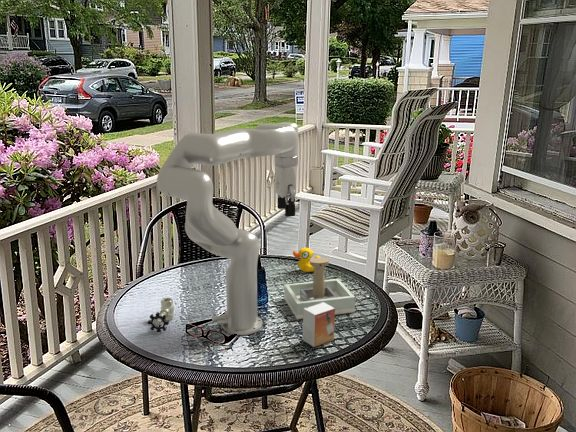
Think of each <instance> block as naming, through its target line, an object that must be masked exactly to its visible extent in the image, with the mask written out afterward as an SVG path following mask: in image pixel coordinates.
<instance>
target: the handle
mask: <svg viewBox="0 0 576 432" xmlns="http://www.w3.org/2000/svg"><path fill="white" fill-rule="evenodd" d="M309 261H310V265H311V266H313V267H314V271H313V280H312V282H313V296H314V299H317V298H323V297H324V291H325V281H324V280H325V267H327V266H328V265H329V263H330V259H328V258H326V257H320V258H315V257H314V258H311V259H310V260H309Z"/></svg>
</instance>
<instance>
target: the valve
mask: <svg viewBox="0 0 576 432" xmlns="http://www.w3.org/2000/svg"><path fill="white" fill-rule="evenodd" d="M160 306H161V307H160V311H158V312H156V313H155V316H154V314H153V313H152V314H150V315H149V319H150V320H148V321H146V323H147V325H151V326H150V331H154V330H156V333H157V332H160V333H161V331H164V332H166V331H167V330H168V327H167V326H169V324H170V321H171V320H174V317H175V316H174V314H175V313H174V311H175V307H174V299H173V298H171V297H164V298H162V299H161V300H160ZM154 320H155V322H154ZM165 320H168V321H165ZM154 323H155V324H154Z"/></svg>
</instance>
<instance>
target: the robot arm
mask: <svg viewBox="0 0 576 432" xmlns="http://www.w3.org/2000/svg"><path fill="white" fill-rule="evenodd" d="M266 156H267V157H268V156H274V167H275V179H274V182H275V183H274V192H275V193H276V194H277V209H279V210H281V209H284V216H285V217H296V195H297V173H296V167H298V166H299V125H298V124H297V123H295V122H287V121H283V122H278V123H261V124H258V125H257V126H255V128H236V129H235V128H234V129H231V130H226V131H222V132H221V131H220V132H215V133H200V132H189V133H186V134H185V135H184V136H183V137H182V138H181V139H180V140H179V141H178V142H177V144H176V145H175V146H174V148H173V150H171V152H170V154H169V155H168V157H167V158H166V160H165V161H164V163H163V164H162V166H161V168H160V169H159V171H158V174H157V178H156V184H157V185H156V186H157V189H158V190H159V192H161V193H162V195H165V196H168V197H170V198H176V199H179V200H183V201H186V210H185V223H184V230H185V231H184V232H185V233H186V235H187V236H188V238H189V239H190V240H191V241H192V242H194V243H195V244H197V245H198V246H200V247H201V248H203V249H204V250H205V251H207V252H209V253H211V254H213V255H214V256H219V257H221V258H226V259H228V260H230V264H229V266H228V267H227V269H226V272H225V289H226V290H225V291H226V292H225V293H226V294H225V295H226V296H225V297H226V310H225V311H224V314H221V315H214V316H213V315H212V316H211V321H212V323H216V325H218V326H219V325H222V329H223V330H224V332H226V333H228V334H231V335H234V334H237V335H236V336H247V335H252V334H255V333H257V332H258V331H260V330H261V329H262V328H263V320H262V318H260V317H259V316H258V261H259V255H260V248H261V243H260V240H259V237H258V236H257V235H256V234H255V233H253V232H252V231H249V230H245V229H242V228H237V226H236V224H235V223H234V221H233V220H232V219H231V218H230V217H228V216H227V215H226V214H224V213H223V212H222V211H221V210H219V209H218V208H217V207H216V206H214V203H213V199H214V198H213V197H214V195H213V194H214V184H213V181H212V178H211V177H210V175H209V174H208V173H206V172H204V171H202V170H200V169H196V168H193V166H194V164H195V165H196V164H197V165H203V166H209V167H213V166H219V165H223V164H227V163H231V162H233V161H239V160H241V159H247V158H249V159H251V158H258V157H266Z"/></svg>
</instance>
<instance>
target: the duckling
mask: <svg viewBox="0 0 576 432" xmlns="http://www.w3.org/2000/svg"><path fill="white" fill-rule="evenodd" d="M292 254H293V256H294V258H296V259H299V260H298V262H297V266H298V268H299V269H300V271H302V272H303V273H312V272H313V273H314V267H313V266H311V265H310V259H313V258H312V257H313V256H314V254H315V253H314V251H313V250H312V249H310V248H309V247H302V248H300V249H299V250H298V252H296V250H293V251H292ZM314 258H321V256H320V255H316V256H314Z"/></svg>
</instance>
